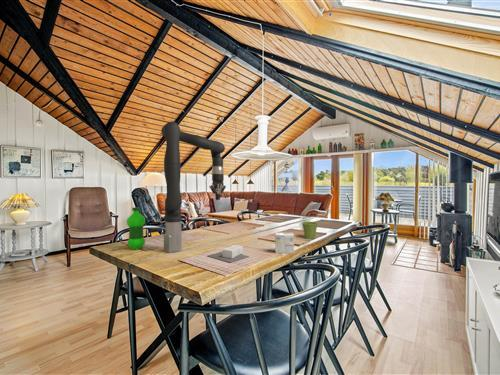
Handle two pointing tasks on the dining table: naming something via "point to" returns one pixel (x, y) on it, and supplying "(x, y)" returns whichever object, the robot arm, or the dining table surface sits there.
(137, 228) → the plastic bottle
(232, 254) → the skincare box
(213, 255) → the mat
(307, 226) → the plant pot
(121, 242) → the dining table surface
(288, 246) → the light bulb box
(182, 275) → the dining table surface
